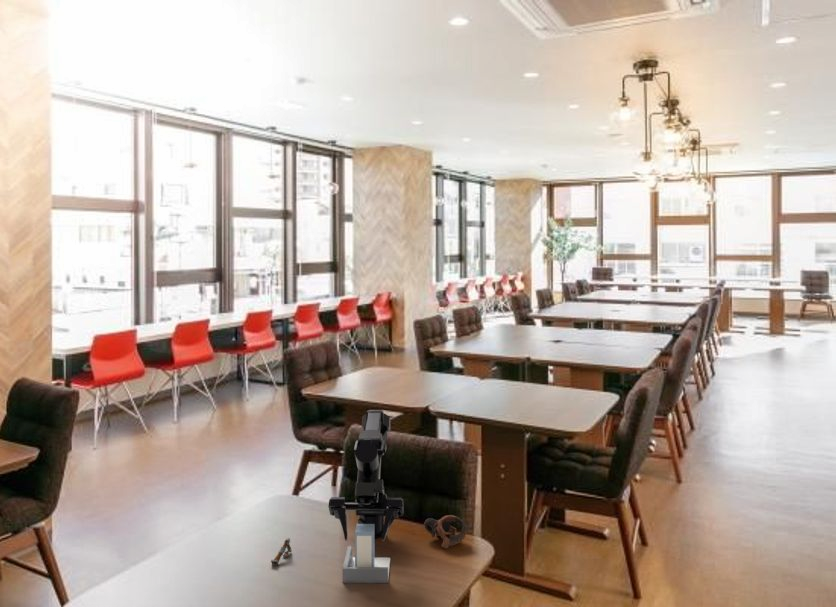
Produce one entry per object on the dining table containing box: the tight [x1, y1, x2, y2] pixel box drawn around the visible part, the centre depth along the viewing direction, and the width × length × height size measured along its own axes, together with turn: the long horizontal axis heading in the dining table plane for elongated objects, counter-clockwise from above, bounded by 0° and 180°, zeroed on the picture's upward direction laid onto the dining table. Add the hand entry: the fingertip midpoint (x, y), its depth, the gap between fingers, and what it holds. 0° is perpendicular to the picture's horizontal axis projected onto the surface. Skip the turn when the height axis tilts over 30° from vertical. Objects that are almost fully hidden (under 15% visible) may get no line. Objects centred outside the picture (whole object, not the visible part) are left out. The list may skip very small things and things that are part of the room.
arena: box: [342, 545, 391, 584], centre depth 167 cm, size 12×11×4 cm
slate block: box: [354, 523, 376, 567], centre depth 166 cm, size 5×4×11 cm
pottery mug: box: [423, 514, 468, 550], centre depth 184 cm, size 12×10×8 cm
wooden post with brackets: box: [270, 538, 292, 567], centre depth 173 cm, size 2×8×4 cm, turn 160°
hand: (364, 540), depth 164 cm, fingers open, 9 cm apart
